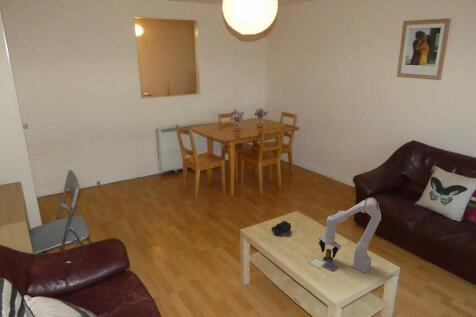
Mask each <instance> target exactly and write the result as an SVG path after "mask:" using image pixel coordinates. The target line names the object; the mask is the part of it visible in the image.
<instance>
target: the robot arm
mask: <svg viewBox="0 0 476 317" xmlns="http://www.w3.org/2000/svg"><path fill="white" fill-rule="evenodd" d="M379 204H380V203H379V202H378V201H377V200H376V198H374V197H369V198H366V199H363V200H362V201H360V202H359V203H357V204H355V205H354V206H352V207H351V208H349V209H347V210H339V211H337V213H335V214H331V215H328V216H327V218H326V221H325V235H324V236H319V237H318V241H319V242H318V245H319V246H320V249H321V253H324V252H326V245H327V246H331V247H332V249H331V250H332V257H333V259H334V258H335V257H336V254H338V251H339V250H341V249H342V245H341V244H339V243H337V241H335V240H336V226H337V225H339V224H341V223H343V222H345V221H347V220H348V219H349V217H350V216H353V215H355V214H357V213H360V212H361V213H363V214H368V215H369V216H370V220H369V222H368V224H367V226H366V228H365V230H364V233H363V234H362V236H361V237H360V239H359V240H358V241H357V242H356V248H355V250H354V256H353V263H352V264H350V267H351V268H354V269H355V270H357V271H360V272H362V273H364V274H366V273H367V272H368V271H369V270H370V269H371V268H372V257H371V256H369V254H368V252H367V251H368V248H369V245H370V242H371V240H372V239H373V237H374V235H375V232H376V230H377V229H378V228H377V227H378V226H379V224H380V222H381V221H382V213H381V209H380V206H379Z"/></svg>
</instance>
